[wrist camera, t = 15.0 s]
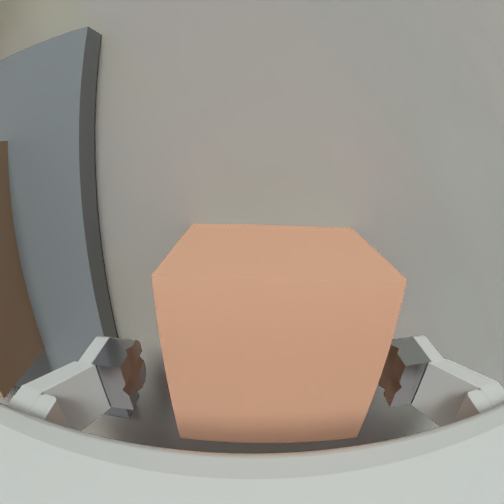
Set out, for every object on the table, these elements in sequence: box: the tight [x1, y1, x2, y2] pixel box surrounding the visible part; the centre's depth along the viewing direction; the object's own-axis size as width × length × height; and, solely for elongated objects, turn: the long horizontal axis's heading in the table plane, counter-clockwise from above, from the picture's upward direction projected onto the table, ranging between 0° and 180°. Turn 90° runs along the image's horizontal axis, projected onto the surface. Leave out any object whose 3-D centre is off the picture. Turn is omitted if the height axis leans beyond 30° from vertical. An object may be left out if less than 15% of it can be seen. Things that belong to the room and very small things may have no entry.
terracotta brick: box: [151, 224, 407, 443], centre depth 10 cm, size 6×6×5 cm
